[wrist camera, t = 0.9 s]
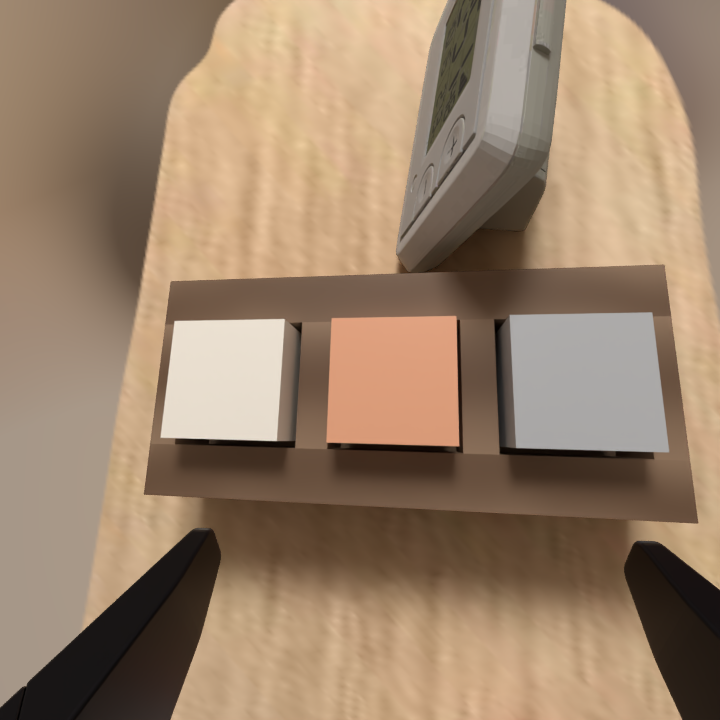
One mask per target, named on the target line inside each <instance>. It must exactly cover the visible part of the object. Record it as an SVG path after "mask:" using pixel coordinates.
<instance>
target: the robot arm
mask: <svg viewBox="0 0 720 720" xmlns="http://www.w3.org/2000/svg"><path fill="white" fill-rule="evenodd" d="M220 560H221V551H220V548H219V545H218V542H217V539H216V536H215V533H214V531H213V530H212V529H210V528H195V529H193V530H192V531H190V532H189V533H188V534H187V535H186V536H185V537H184V538H183V539H182V540H181V541H179V542H178V543H177V544H176V545H175V546H174V547H173V548H172V549H171V550H170V551H169V552H168V553H167V554H165V555H164V556H163V557H162V558H161V559H160V560H159V561H158V562H157V563H156V564H155V565H154V566H153V567H151V568H150V569H149V570H148V571H147V572H146V573H145V574H144V575H143V576H142V577H141V578H140V579H138V580H137V581H136V582H135V583H134V584H133V585H132V586H131V587H130V588H129V589H128V590H127V591H126V592H124V593H123V594H122V595H121V596H120V597H119V598H118V599H117V600H116V601H115V602H114V603H113V604H112V605H110V606H109V607H108V608H107V609H106V610H105V611H104V612H103V613H102V614H101V615H100V616H99V617H98V618H96V619H95V620H94V621H93V622H92V623H91V624H90V625H89V626H88V627H87V628H86V629H85V630H84V631H82V632H81V633H80V634H79V635H78V636H77V637H76V638H75V639H74V640H73V641H72V642H71V643H70V644H69V645H67V646H66V647H65V648H64V649H63V650H62V651H61V652H60V653H59V654H58V655H57V656H56V657H54V659H52V660H51V661H50V662H49V663H48V664H47V665H46V666H45V667H44V668H43V669H42V670H41V671H39V672H38V673H37V674H36V675H35V676H34V677H33V678H32V679H31V680H30V681H29V682H28V683H27V686H24V687H22V688H21V689H20V690H19V691H18V692H17V693H15V694H14V695H13V696H12V697H11V698H10V699H9V700H8V701H7V702H6V703H5V704H4V705H3V706H1V707H0V720H170V719H171V716H172V714H173V711H174V708H175V705H176V703H177V700H178V697H179V694H180V692H181V689H182V686H183V684H184V681H185V678H186V675H187V673H188V670H189V667H190V664H191V662H192V659H193V656H194V654H195V651H196V648H197V645H198V642H199V639H200V636H201V633H202V629H203V626H204V622H205V618H206V615H207V611H208V607H209V603H210V599H211V596H212V592H213V588H214V584H215V580H216V577H217V573H218V569H219V565H220ZM624 573H625V578H626V581H627V584H628V586H629V589H630V592H631V595H632V598H633V600H634V603H635V606H636V609H637V612H638V614H639V617H640V620H641V623H642V626H643V628H644V631H645V634H646V637H647V640H648V642H649V645H650V648H651V650H652V653H653V656H654V658H655V661H656V663H657V665H658V668H659V670H660V672H661V674H662V677H663V679H664V681H665V683H666V685H667V687H668V690H669V692H670V694H671V696H672V698H673V700H674V702H675V705H676V707H677V709H678V711H679V713H680V715H681V718H682V720H720V590H719V589H718V588H717V587H715V586H714V585H713V584H712V583H710V582H709V581H708V580H706V579H705V578H704V577H703V576H701V575H700V574H699V573H698V572H696V571H695V570H694V569H693V568H691V567H690V566H689V565H688V564H686V563H685V562H684V561H682V560H681V559H680V558H679V557H677V556H676V555H675V554H674V553H672V552H671V551H670V550H669V549H667V548H666V547H665V546H663V545H662V544H660V543H658V542H654V541H637V542H635V543H634V544H633V546H632V548H631V551H630V553H629V555H628V558H627V560H626V562H625V565H624Z"/></svg>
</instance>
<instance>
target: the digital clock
mask: <svg viewBox="0 0 720 720" xmlns="http://www.w3.org/2000/svg"><path fill="white" fill-rule="evenodd" d="M565 8H566V0H448V1H447V4H446V6H445V9H444V11H443V14H442V16H441V18H440V21H439V23H438V26H437V28H436V31H435V34H434V36H433V39H432V42H431V46H430V50H429V55H428V61H427V66H426V72H425V78H424V84H423V90H422V96H421V102H420V108H419V114H418V120H417V126H416V132H415V138H414V144H413V150H412V156H411V162H410V168H409V174H408V180H407V186H406V192H405V198H404V204H403V210H402V216H401V222H400V228H399V235H398V241H397V248H396V255H397V256H398V258H399V259H400V261H401V263H402V264H403V265H404V267H405V268H406V270H407V271H408V272H411V273H422V272H425V271H428V270H430V269H432V268H434V267H436V266H438V265H439V264H440V263H442V262H443V261H444V260H445V259H446V258H447V257H448V256H449V255H450V254H451V253H453V252H454V251H455V250H456V249H457V248H458V247H459V246H460V245H461V244H462V243H463V242H464V241H466V240H467V239H468V238H469V237H470V236H471V235H472V234H473V233H474V232H475V231H476V230H477V229H478V228H482V229H494V230H507V231H523V230H525V229H526V227H527V225H528V223H529V221H530V219H531V217H532V215H533V213H534V211H535V209H536V207H537V205H538V203H539V201H540V199H541V197H542V195H543V193H544V191H545V187H546V179H547V169H548V159H549V150H550V146H551V141H552V132H553V124H554V115H555V107H556V98H557V89H558V79H559V69H560V59H561V49H562V38H563V28H564V18H565Z"/></svg>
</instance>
